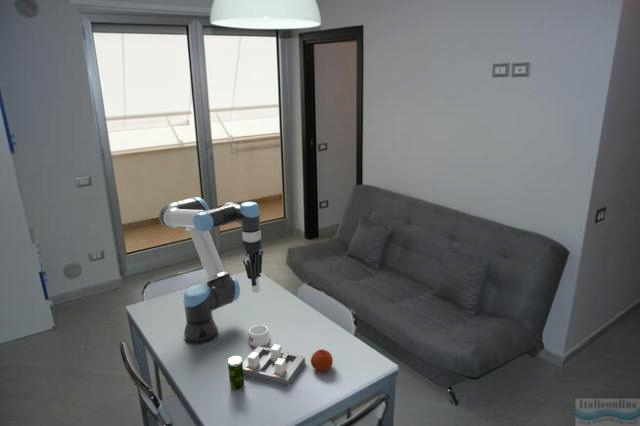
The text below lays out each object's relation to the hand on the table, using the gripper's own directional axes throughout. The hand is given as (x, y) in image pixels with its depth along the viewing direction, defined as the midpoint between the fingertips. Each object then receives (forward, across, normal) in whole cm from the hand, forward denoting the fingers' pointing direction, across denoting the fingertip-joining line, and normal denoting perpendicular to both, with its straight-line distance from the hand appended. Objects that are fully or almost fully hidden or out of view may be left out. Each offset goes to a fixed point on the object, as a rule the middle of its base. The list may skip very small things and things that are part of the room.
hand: (256, 291), depth 193 cm
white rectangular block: (+25, -17, -7) cm, 31 cm away
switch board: (+26, -13, -13) cm, 32 cm away
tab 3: (+25, -17, -19) cm, 36 cm away
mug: (+27, +3, +3) cm, 27 cm away
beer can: (+27, -28, -6) cm, 39 cm away
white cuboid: (+25, -9, -13) cm, 30 cm away
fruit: (+27, -6, -32) cm, 42 cm away
